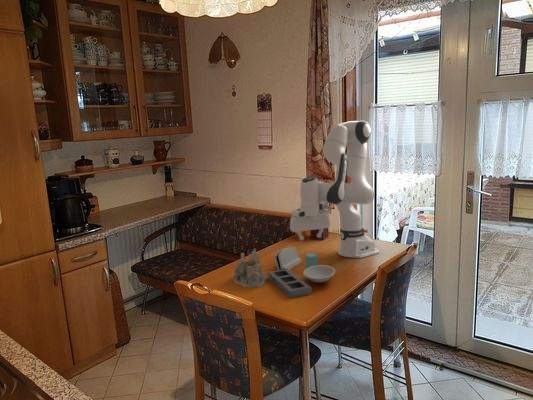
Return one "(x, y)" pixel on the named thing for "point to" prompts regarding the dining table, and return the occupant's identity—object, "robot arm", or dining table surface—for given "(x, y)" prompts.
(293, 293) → the grey slotted board
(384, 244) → the dining table surface
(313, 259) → the square peg
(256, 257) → the ceramic cottage
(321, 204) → the dark brown tall piece
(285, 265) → the white arch segment
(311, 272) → the dish
